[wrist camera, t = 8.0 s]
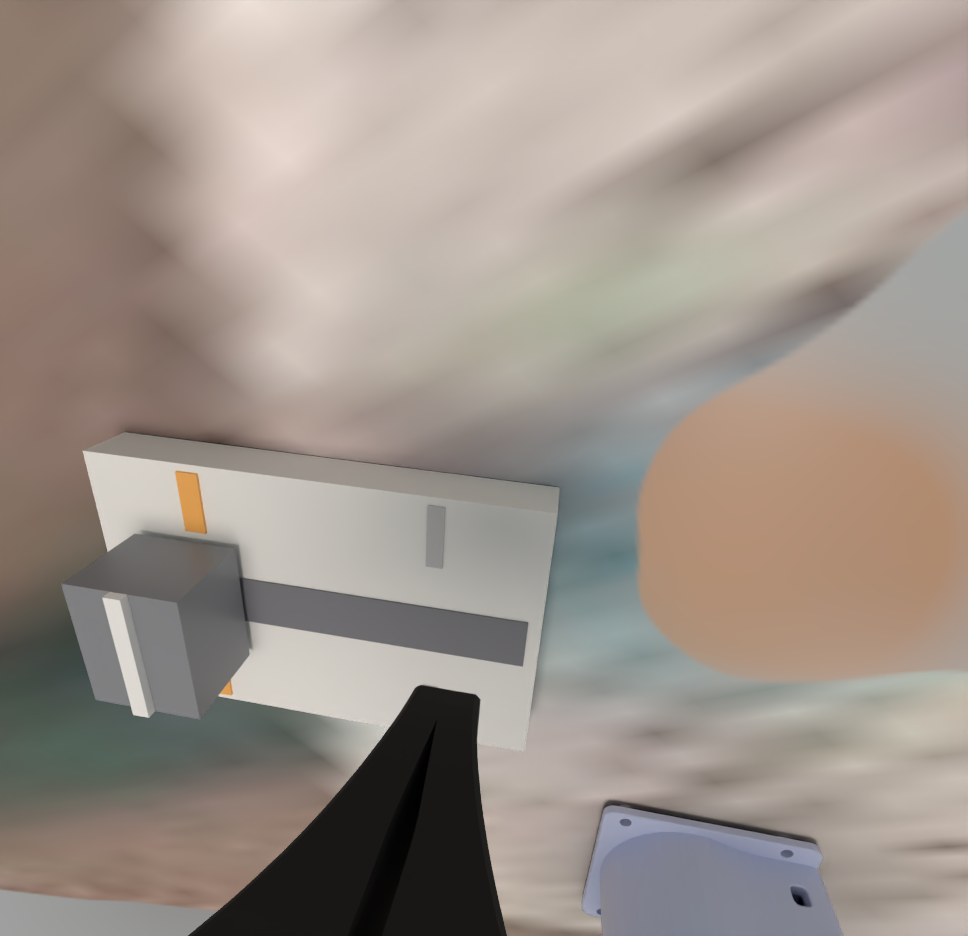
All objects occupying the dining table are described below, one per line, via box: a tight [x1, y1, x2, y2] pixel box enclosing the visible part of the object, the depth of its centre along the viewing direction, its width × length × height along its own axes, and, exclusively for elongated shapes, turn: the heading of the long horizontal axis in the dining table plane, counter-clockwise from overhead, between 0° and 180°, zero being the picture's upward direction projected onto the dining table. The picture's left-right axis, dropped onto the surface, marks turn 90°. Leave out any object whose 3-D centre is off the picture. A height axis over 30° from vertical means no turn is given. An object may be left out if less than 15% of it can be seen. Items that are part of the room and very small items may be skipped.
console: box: [83, 432, 560, 752], centre depth 22 cm, size 17×11×2 cm, turn 86°
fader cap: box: [61, 534, 250, 719], centre depth 20 cm, size 4×5×4 cm
